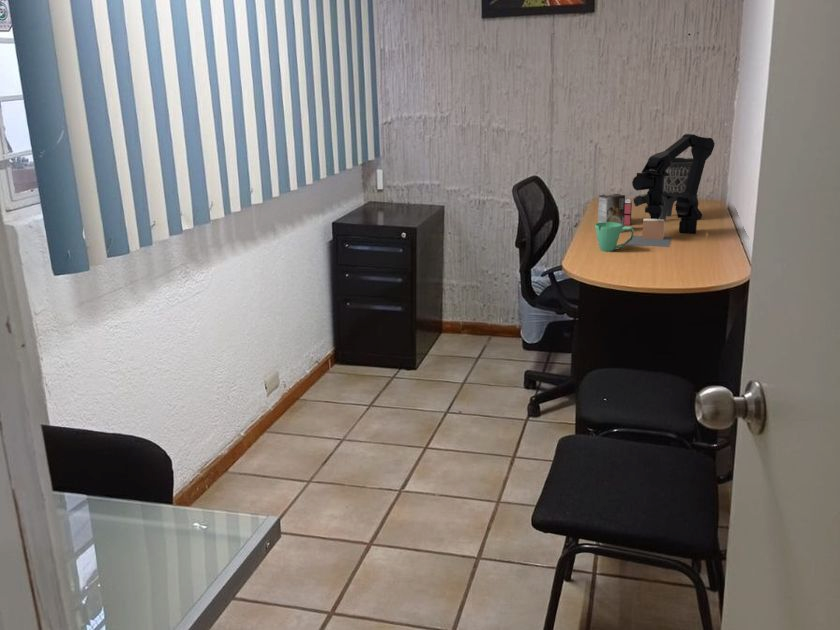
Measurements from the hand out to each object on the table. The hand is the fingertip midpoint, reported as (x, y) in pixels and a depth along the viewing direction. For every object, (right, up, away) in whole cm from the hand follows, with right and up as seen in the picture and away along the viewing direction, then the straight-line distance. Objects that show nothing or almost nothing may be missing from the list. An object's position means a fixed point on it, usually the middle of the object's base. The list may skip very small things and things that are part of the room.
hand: (653, 226), depth 328 cm
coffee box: (-14, -1, +15) cm, 21 cm away
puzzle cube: (-6, +5, +35) cm, 36 cm away
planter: (+21, +8, +40) cm, 46 cm away
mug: (-20, -11, -15) cm, 27 cm away
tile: (0, -4, 0) cm, 4 cm away
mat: (-3, -7, -4) cm, 8 cm away
